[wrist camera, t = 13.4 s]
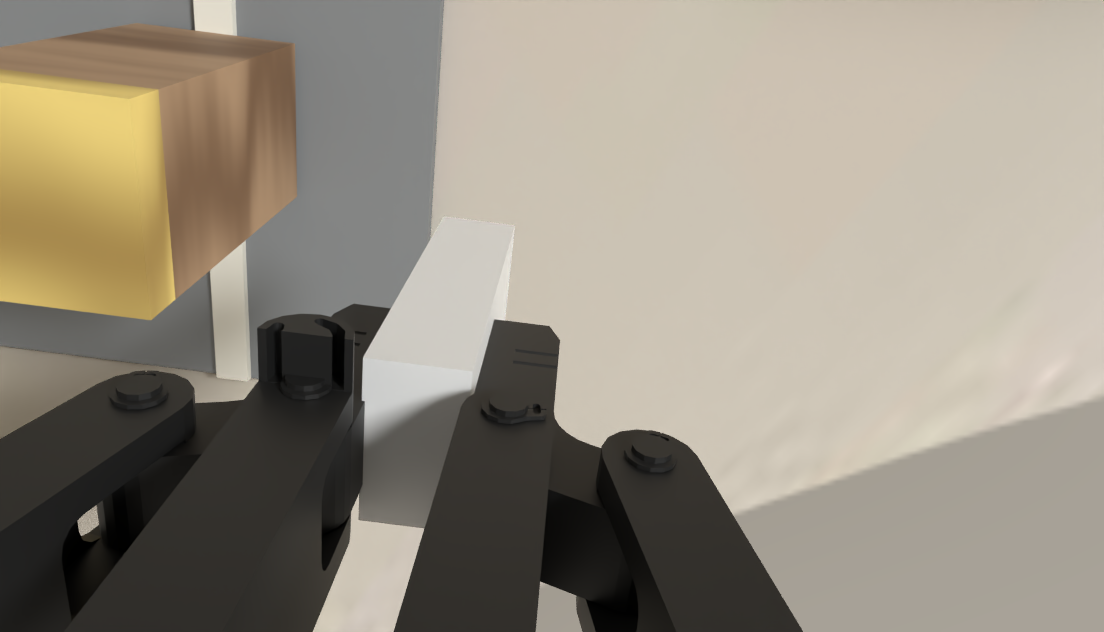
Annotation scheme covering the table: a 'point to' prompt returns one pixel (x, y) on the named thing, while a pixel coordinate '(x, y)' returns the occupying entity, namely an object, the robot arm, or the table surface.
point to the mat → (322, 178)
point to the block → (138, 162)
